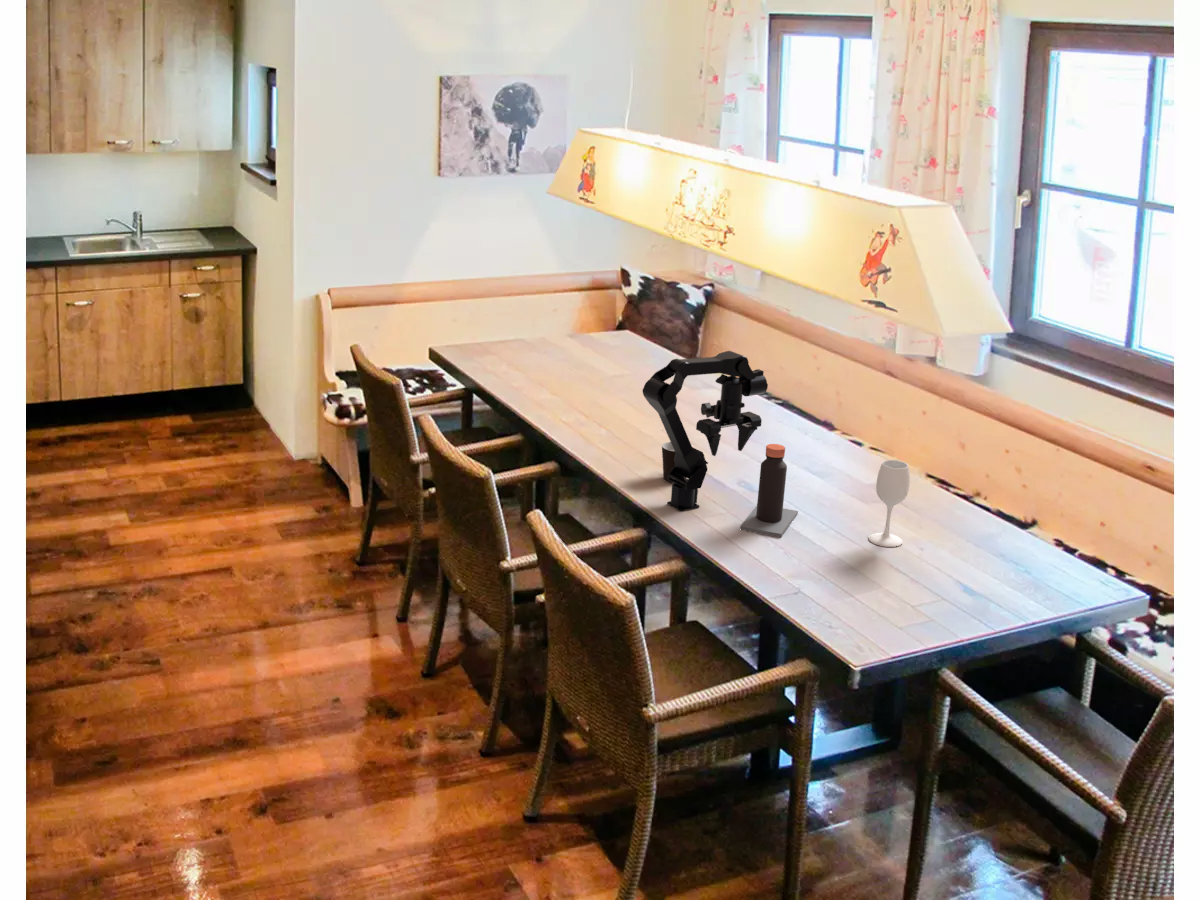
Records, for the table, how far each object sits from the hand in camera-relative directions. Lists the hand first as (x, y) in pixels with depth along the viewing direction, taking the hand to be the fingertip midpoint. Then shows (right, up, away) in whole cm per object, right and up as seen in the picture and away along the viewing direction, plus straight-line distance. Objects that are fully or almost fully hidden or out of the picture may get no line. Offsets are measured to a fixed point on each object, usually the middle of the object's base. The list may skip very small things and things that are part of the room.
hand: (726, 453), depth 355 cm
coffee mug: (-12, -8, +17) cm, 22 cm away
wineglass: (+39, -23, -20) cm, 49 cm away
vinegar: (+10, -17, -12) cm, 23 cm away
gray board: (+10, -18, -11) cm, 24 cm away
